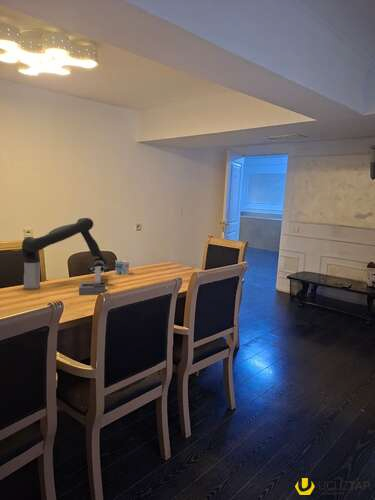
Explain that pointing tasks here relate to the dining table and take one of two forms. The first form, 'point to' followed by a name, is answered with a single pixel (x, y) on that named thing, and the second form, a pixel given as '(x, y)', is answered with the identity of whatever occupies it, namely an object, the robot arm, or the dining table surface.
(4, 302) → the dining table surface
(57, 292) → the dining table surface
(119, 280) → the dining table surface
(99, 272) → the steel post
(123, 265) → the light bulb box
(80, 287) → the keyhole board
